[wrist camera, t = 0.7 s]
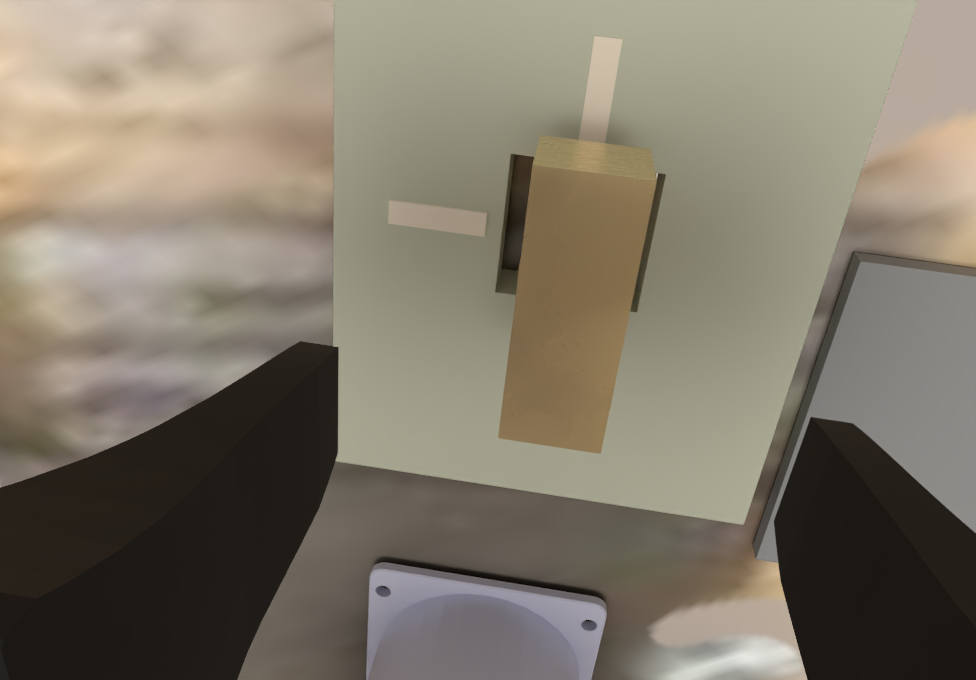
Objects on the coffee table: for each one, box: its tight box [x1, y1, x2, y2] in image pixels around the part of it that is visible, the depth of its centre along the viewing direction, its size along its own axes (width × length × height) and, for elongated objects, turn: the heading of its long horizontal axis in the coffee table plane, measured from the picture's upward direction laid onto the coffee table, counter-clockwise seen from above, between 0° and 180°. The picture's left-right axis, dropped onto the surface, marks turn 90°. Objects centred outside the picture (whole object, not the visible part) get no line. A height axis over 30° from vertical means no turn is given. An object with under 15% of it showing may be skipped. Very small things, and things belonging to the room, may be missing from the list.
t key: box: [498, 135, 657, 454], centre depth 19 cm, size 6×2×6 cm, turn 175°
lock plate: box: [333, 0, 918, 525], centre depth 20 cm, size 16×12×2 cm
